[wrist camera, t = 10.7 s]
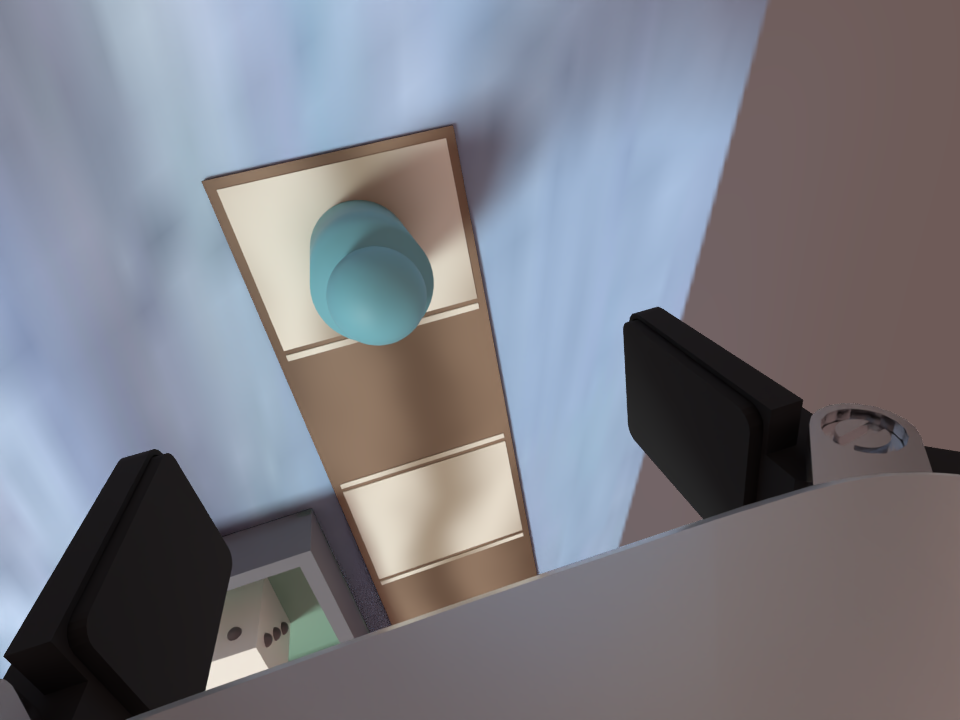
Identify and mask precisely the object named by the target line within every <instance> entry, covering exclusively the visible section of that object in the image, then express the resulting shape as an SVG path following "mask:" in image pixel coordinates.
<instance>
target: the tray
mask: <svg viewBox="0 0 960 720" xmlns="http://www.w3.org/2000/svg"><path fill="white" fill-rule="evenodd" d="M222 538H223V539H224V541H225V543H226V544H227V546H228V548H229V550H230V552H231V556H232V571H231V575H230V580H229V584H228V589H227V591H229V590H232V589H235V588H238V587H241V586H244V585H247V584H250V583H252V582H255V581H258V580H261V579H264V578H268V580H269V582H270V584H271V586H272V588H273V590H274V592H275V594H276V596H277V598H278V600H279V602H280V604H281V605H282V607H283V609H284V611H285V613H286V615H287V617H288V619H289V621H290V623H291V624H290V640H289V657H288V662H289V661H291V660H294V659H297V658H300V657H303V656H306V655H309V654H311V653H314V652H317V651H320V650H323V649H326V648H329V647H331V646H334V645H337V644H340V643H343V642H346V641H349V640H351V639H354V638H357V637H360V636H363V635H366V634H368V633H370V632H369V630H368V628H367V626H366V623H365V621H364V619H363V617H362V615H361V613H360V611H359V609H358V606H357V604H356V602H355V600H354V598H353V596H352V594H351V591H350V589H349V587H348V585H347V583H346V581H345V579H344V577H343V574H342V572H341V570H340V568H339V566H338V564H337V562H336V559H335V557H334V555H333V553H332V551H331V549H330V547H329V545H328V542H327V540H326V538H325V536H324V534H323V532H322V530H321V527H320V525H319V523H318V521H317V519H316V517H315V515H314V513H313V510H312V509H309V510H305V511H302V512H299V513H296V514H293V515H290V516H287V517H284V518H280V519H277V520H274V521H271V522H268V523H265V524H262V525H258V526H255V527H252V528H249V529H246V530H243V531H240V532H237V533H233V534H230V535H227V536H224V537H222Z"/></svg>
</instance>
